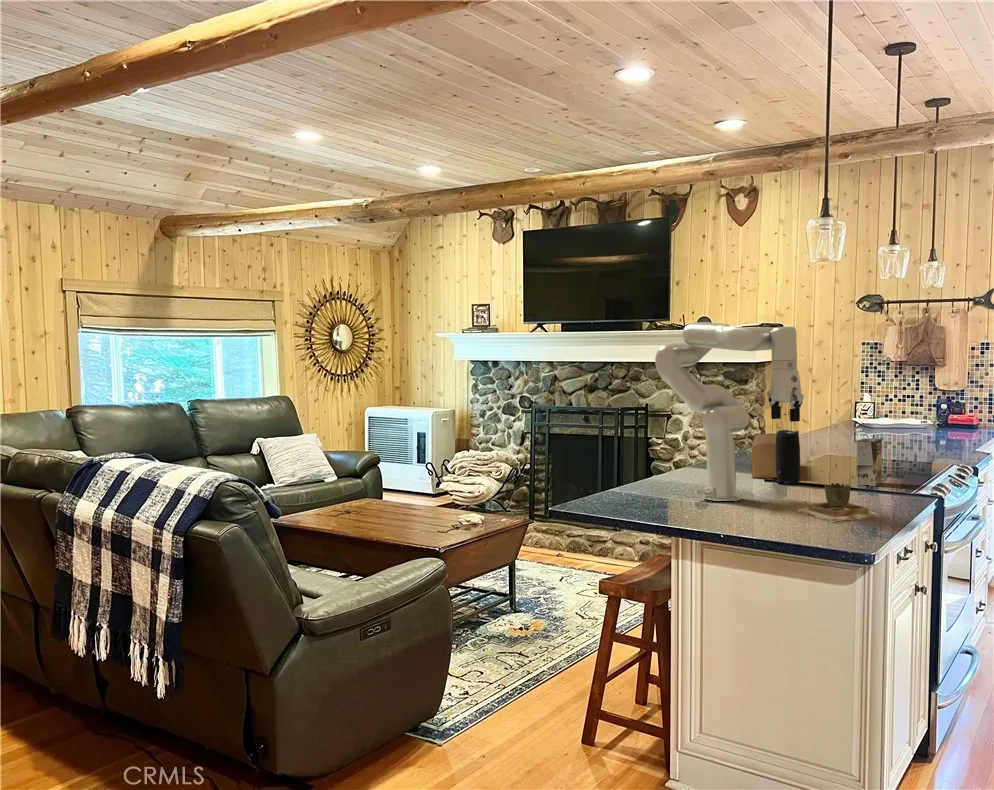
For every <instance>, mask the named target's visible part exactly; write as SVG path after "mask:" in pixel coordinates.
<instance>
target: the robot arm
mask: <svg viewBox="0 0 994 790" xmlns="http://www.w3.org/2000/svg"><path fill="white" fill-rule="evenodd" d="M681 336H682V339H683V341H684V342H677V343H676V342H675V343H667V344H664V345H663V346H660V348H658V350H657V351H656V354H655V359H654V361H655V362H654V363H655V369H656V372H657V373H658V375H659V377H660V378H661V379H662V380H663V382H664V383H665V384H667V386H669V387H670V388H671V389H672V391H674V392H675V393H676V395H677V396H678V397H679V398H680V399H681V400H682V401H683V402H684V403H685V404H686V405H687V406H688V407H689V408H690V410H692V411H693V412H695V413H698V414H701V413H704V416H703V418H702V419H703V420H702V426H703V427H702V428H703V431H704V436H705V447H706V448H705V450H706V452H705V453H706V478H707V480H706V481H707V485H704V487H703V488H702V489H699V488H698V489H695V490H694V495H695V496H701V495H702V499H703V498H704V499H708V500H713V501H734V502H738V500H739V501H741V500H742V495H741V494H739V493H737V463H736V462H737V461H736V459H737V458H736V444H735V440H734V438H733V436H732V434H734V433H739V432H742V431H744V430H745V429H746V428H747V427H748V425H749V421H750V420H749V419H750V418H749V414H748V412H747V410H746V409H745V407H744V406H743V405H742V404H741V403H740V402H739V401H738V400H737V399H736V398H735V396H733V395H732V394H731V393H730V392H728V390H727V389H725V387H723V386H721V385H720V384H712V383H711V384H710V383H709V384H703V383H702V382H701V381H700V380H698V379H697V378H696V376H694V375H693V374H692V373H691V372H689V371H688V370H687V369H685V368H683V367H690V366H693V365H696V364H697V363H698V362H700V361H701V360H702V359H703V358H704V357H705V356H706V355H707V354H708V353H709V352H710V351H711V350H712V349H719V350H720V349H721V350H730V351H743V352H756V351H757V352H759V351H771V375H770V389H769V390H768V392H767V393H766V395H767V398H768V399H767V400H768V402H769V406H770V417H771V418H770V419H771V420H780V419H781V417H782V413H781V411H782V407H781V405H780V404H781V403H788V404H789V406H790V408H789V421H790V423H791V422H792V423H795V422H800V421H801V410H800V409H801V408H802V404H803V401H804V398H805V396H804V394H803V393H802V386H801V377H800V373H799V370H798V357H797V356H798V354H797V353H798V352H797V351H798V349H797V346H798V345H797V329H796V327H794V326H775V327H771V326H755V327H753V326H752V327H741V326H730V325H729V324H728V323H717V322H715V323H714V322H711V321H697V322H691V323H689V324H687V325H685V327H684V329H683V330H682V335H681ZM704 499H703V500H704Z"/></svg>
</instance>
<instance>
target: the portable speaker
mask: <svg viewBox="0 0 994 790" xmlns="http://www.w3.org/2000/svg"><path fill="white" fill-rule="evenodd" d="M775 434H776V445H775V449H776V475H777V479H776V481H777V482H776V483H777V484H780V483H783V485H785V486H796V485H797V484H798V483H797V482H799V483H800V479H801V445H800V443H801V442H800V436H799V434H800V433H799V430H795V431H793V430H789V429H782V430H778V431H776V433H775Z"/></svg>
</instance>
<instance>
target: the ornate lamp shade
mask: <svg viewBox="0 0 994 790" xmlns="http://www.w3.org/2000/svg"><path fill="white" fill-rule="evenodd" d="M830 484H831V485H829V484H828V483H826V484H823V487H824V492H825V493H824V494H825V499H826V503H829V504H830V505H832V507H831V509H832V510H833V511H840V510H844V506H845V505H846V504H847V503H850V502H849V501H850V496H851V487H852V486H851V484H847V483H846V484H845V483H842V484H840V483H839V482H835V483H833V482H831V483H830Z"/></svg>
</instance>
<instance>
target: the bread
mask: <svg viewBox="0 0 994 790" xmlns="http://www.w3.org/2000/svg"><path fill="white" fill-rule="evenodd" d="M775 445H776V433H769V432H768V433H759V434H757V435H756V436H754V438H753V441H752V444H751V464H750V465H751V466H750V467H751V477H752V479H767V478H777V475H776V449H775Z"/></svg>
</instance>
